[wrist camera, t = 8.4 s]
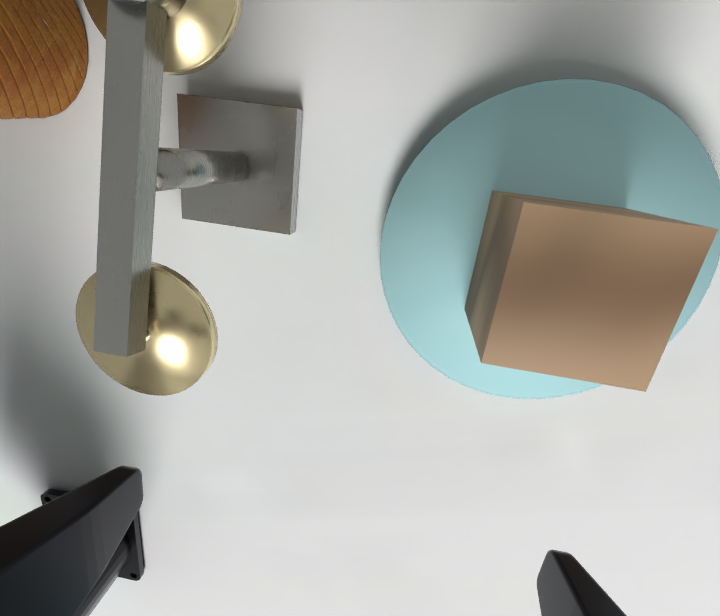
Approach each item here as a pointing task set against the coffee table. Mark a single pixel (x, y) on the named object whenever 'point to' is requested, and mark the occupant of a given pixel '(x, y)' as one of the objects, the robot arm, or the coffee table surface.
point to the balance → (174, 187)
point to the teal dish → (537, 178)
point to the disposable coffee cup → (40, 57)
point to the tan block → (580, 287)
